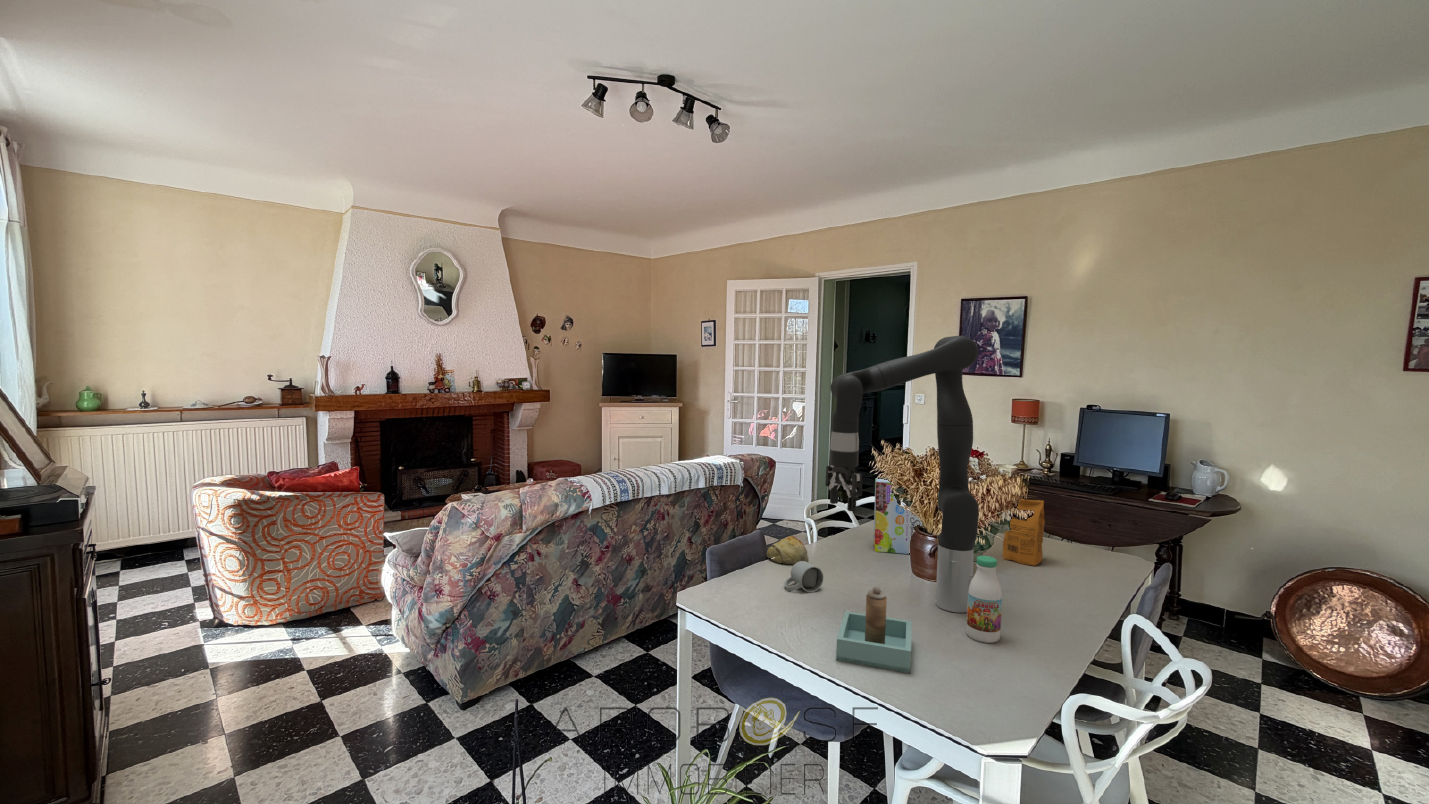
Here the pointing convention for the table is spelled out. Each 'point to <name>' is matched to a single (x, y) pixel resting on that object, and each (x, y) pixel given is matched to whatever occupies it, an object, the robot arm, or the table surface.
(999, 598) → the milk bottle
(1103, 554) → the table surface
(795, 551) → the pastry
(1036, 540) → the coffee package
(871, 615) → the pepper mill
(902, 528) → the snack box
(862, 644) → the bin
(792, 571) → the ceramic mug
